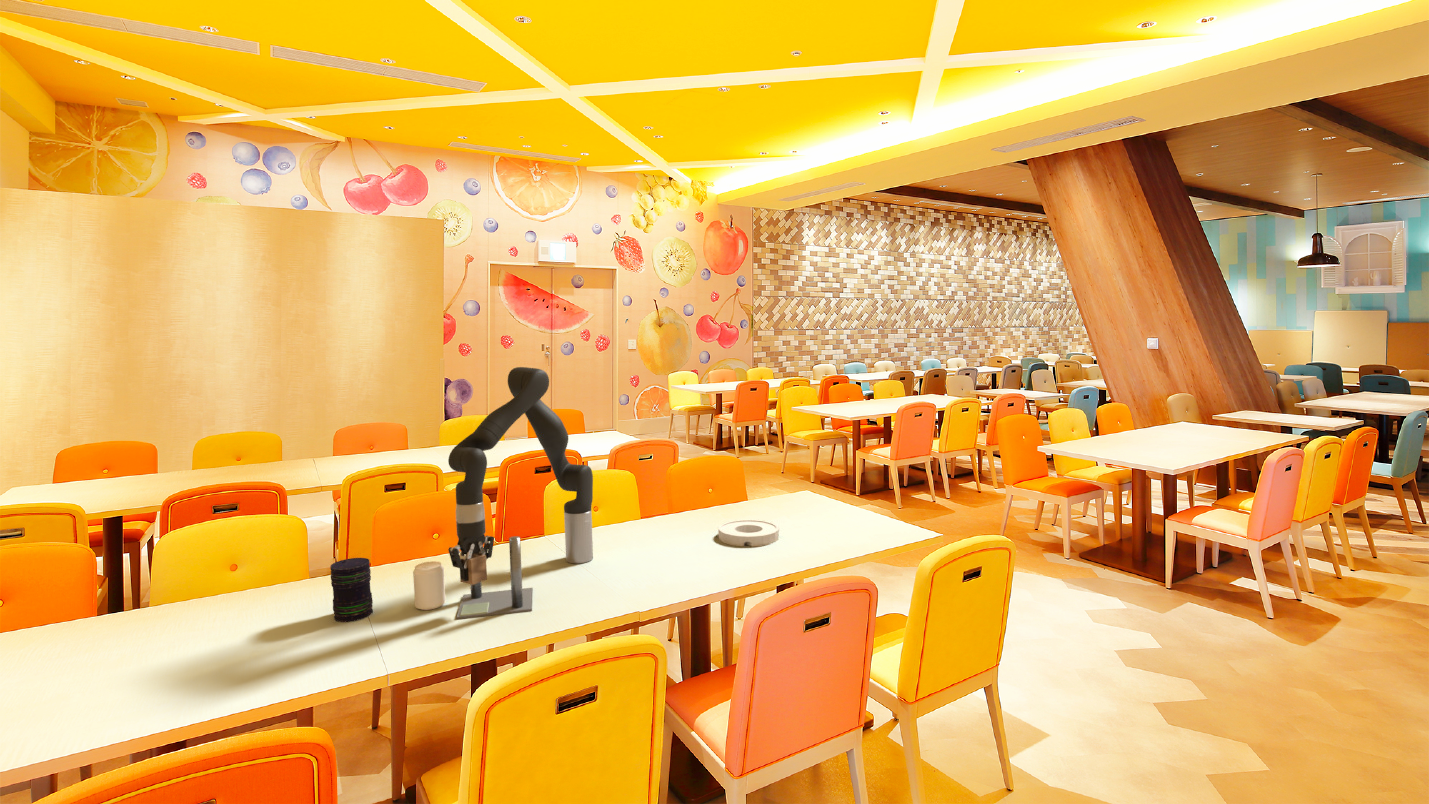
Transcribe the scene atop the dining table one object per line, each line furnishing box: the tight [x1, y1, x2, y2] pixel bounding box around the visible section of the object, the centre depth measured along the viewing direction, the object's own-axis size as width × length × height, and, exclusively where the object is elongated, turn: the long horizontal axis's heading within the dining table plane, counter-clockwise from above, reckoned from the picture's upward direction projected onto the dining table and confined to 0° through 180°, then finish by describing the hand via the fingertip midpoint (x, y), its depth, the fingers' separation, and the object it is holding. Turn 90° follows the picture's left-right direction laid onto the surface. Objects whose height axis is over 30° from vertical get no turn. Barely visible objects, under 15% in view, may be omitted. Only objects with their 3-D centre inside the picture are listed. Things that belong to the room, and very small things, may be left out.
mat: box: [456, 587, 534, 620], centre depth 197 cm, size 17×20×1 cm
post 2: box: [508, 535, 523, 608], centre depth 192 cm, size 3×3×20 cm
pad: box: [461, 603, 488, 614], centre depth 191 cm, size 7×7×1 cm
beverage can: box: [412, 560, 446, 611], centre depth 195 cm, size 8×8×12 cm
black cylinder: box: [329, 557, 374, 623], centre depth 189 cm, size 10×10×15 cm
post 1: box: [469, 581, 483, 599], centre depth 199 cm, size 3×3×20 cm
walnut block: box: [459, 554, 488, 586], centre depth 190 cm, size 5×5×7 cm
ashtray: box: [717, 519, 780, 547], centre depth 258 cm, size 23×23×4 cm
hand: (473, 577), depth 190 cm, fingers closed on walnut block, 5 cm apart
